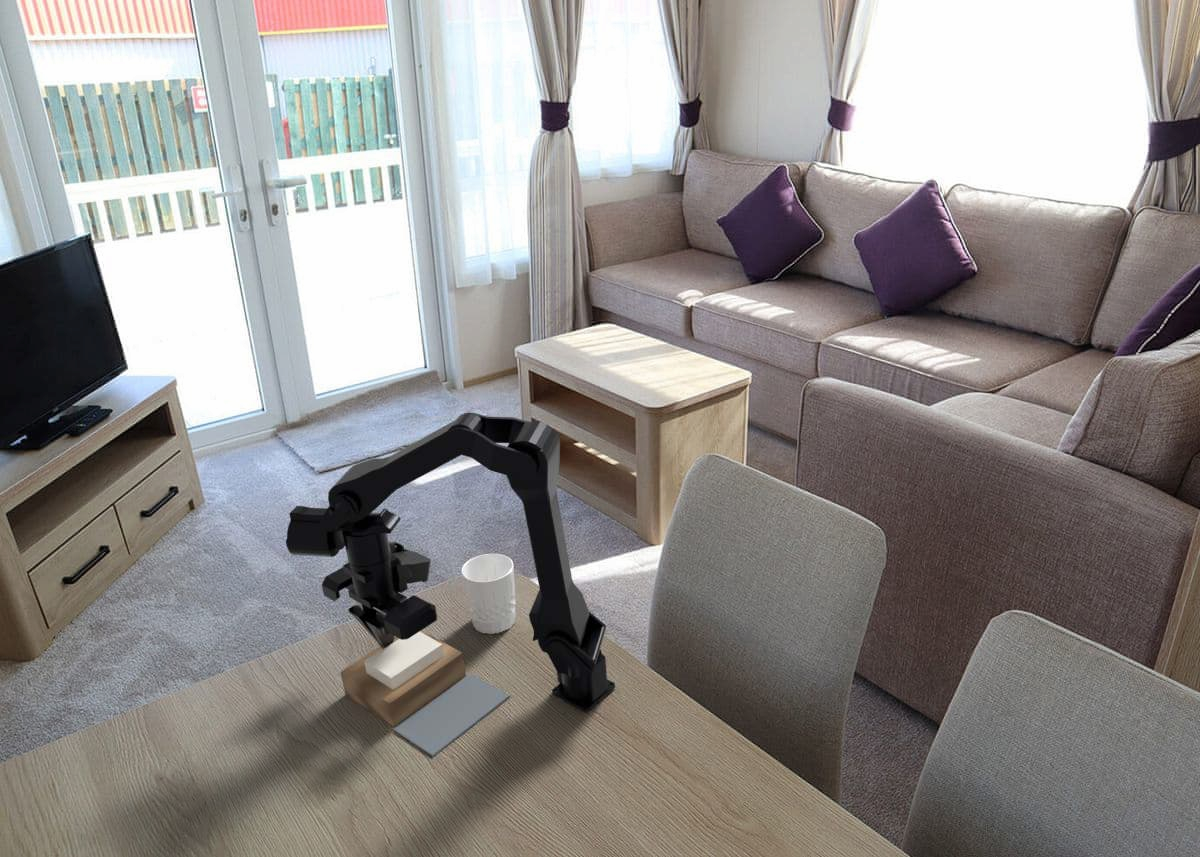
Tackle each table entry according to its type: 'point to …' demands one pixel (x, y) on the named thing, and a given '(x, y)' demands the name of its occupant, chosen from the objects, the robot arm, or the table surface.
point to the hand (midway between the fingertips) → (387, 648)
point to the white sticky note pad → (403, 659)
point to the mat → (451, 714)
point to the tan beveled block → (403, 685)
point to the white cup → (490, 592)
